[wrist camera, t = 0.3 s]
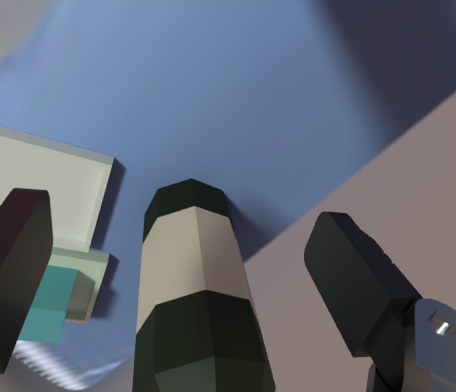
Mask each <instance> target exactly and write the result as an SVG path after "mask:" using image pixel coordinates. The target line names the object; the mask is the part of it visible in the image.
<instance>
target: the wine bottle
mask: <svg viewBox="0 0 456 392" xmlns="http://www.w3.org/2000/svg"><path fill="white" fill-rule="evenodd" d="M275 389H276V387H275V383H274V379H273V375H272V371H271V368H270V364H269V360H268V356H267V352H266V349H265V345H264V341H263V337H262V334H261V330H260V326H259V322H258V318H257V314H256V311H255V307H254V303H253V299H252V296H251V292H250V288H249V284H248V280H247V277H246V273H245V269H244V265H243V261H242V258H241V254H240V250H239V246H238V242H237V239H236V235H235V231H234V227H233V223H232V220H231V216H230V213H229V210H228V207H227V204H226V201H225V198H224V195H223V193H222V190H220V189H218V188H215V187H212V186H210V185H207V184H204V183H202V182H199V181H197V180H194V179H188V180H185V181H182V182H179V183H175V184H172V185H169V186H166V187H163V188H160V189H158V190H157V192H156V194H155V196H154V198H153V200H152V201H151V203H150V205H149V207H148V209H147V211H146V213H145V217H144V232H143V246H142V260H141V274H140V288H139V303H138V317H137V331H136V345H135V361H134V375H133V389H132V392H275Z"/></svg>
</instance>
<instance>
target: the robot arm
mask: <svg viewBox="0 0 456 392" xmlns="http://www.w3.org/2000/svg"><path fill="white" fill-rule="evenodd" d="M52 248H53V228H52V217H51V205H50V196H49V192H48V191H47V190H40V189H26V188H13V189H12V190H11V192H10V193H9V194H8V196H7V197H6V198H5V200H4V201H3V203H2V204H1V205H0V374H3V373H4V372H5V370H6V367H7V365H8V362H9V360H10V357H11V355H12V352H13V350H14V347H15V345H16V342H17V340H18V337H19V335H20V332H21V330H22V327H23V325H24V322H25V320H26V317H27V315H28V312H29V310H30V307H31V305H32V302H33V300H34V297H35V295H36V292H37V290H38V288H39V285H40V283H41V280H42V278H43V275H44V273H45V270H46V268H47V265H48V263H49V260H50V257H51V253H52ZM304 261H305V265H306V268H307V269H308V272H309V273H310V275H311V277H312V279H313V281H314V283H315V285H316V287H317V289H318V291H319V293H320V294H321V296H322V299H323V300H324V302H325V304H326V306H327V308H328V310H329V312H330V314H331V316H332V318H333V320H334V322H335V323H336V326H337V327H338V329H339V331H340V333H341V335H342V337H343V339H344V341H345V343H346V345H347V347H348V349H349V351H350V352H351V354H352V356H353V357H371V358H372V360H373V364H372V365H371V367H370V369H369V372H368V381H367V389H366V392H456V310H454V309H453V308H451V307H449V306H448V305H446V304H444V303H441V302H439V301H436V300H432V299H423V297H422V296H421V295H420V294H419V293H418V292H417V290H416V289H415V288H414V287H413V285H412V284H411V283H410V282H409V281H408V280H407V278H406V277H405V276H404V275H403V274H402V273H401V271H400V270H399V269H398V268H397V267H396V265H395V264H392V261H391V259H390V258H389V257H388V256H387V255H386V254H384V251H383V250H382V249H381V247H380V246H379V245H378V244H377V243H376V241H375V240H374V239H372V238H371V237H369V236H368V235H367V234H366V233H364V232H363V231H362V230H361V229H360V228H359V227H358V226H357V225H356V223H355V222H354V221H353V220H352V218H351V217H350V216H349V215H348V214H346V213H338V212H322V213H321V214H320V215H319V216H318V219H317V221H316V223H315V226H314V228H313V231H312V233H311V235H310V238H309V240H308V243H307V245H306V248H305V252H304Z"/></svg>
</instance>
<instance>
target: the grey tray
mask: <svg viewBox="0 0 456 392" xmlns="http://www.w3.org/2000/svg"><path fill="white" fill-rule="evenodd" d="M113 160H114V157H112V156H108V155H104V154H101V153H97V152H94V151H90V150H86V149H83V148H79V147H75V146H72V145H68V144H65V143H61V142H57V141H54V140H50V139H46V138H43V137H39V136H36V135H32V134H28V133H25V132H21V131H18V130H14V129H10V128H7V127H3V126H0V205H1V204H2V203H3V201H4V200H5V198H6V197H7V196H8V194H9V193H10V192H11V190H12V189H13V188H26V189H40V190H47V191H48V192H49V196H50V205H51V217H52V228H53V247H58V248H64V249H70V250H76V251H81V252H87V253H88V251H89V247H90V244H91V240H92V237H93V233H94V229H95V226H96V222H97V218H98V215H99V211H100V207H101V204H102V200H103V197H104V193H105V189H106V186H107V182H108V178H109V175H110V171H111V168H112V164H113Z"/></svg>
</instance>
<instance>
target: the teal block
mask: <svg viewBox="0 0 456 392" xmlns="http://www.w3.org/2000/svg"><path fill="white" fill-rule="evenodd" d="M77 271H78V269H72V268H66V267H59V266H52V265H47V268H46V270H45V273H44V275H43V278H42V280H41V283H40V285H39V288H38V290H37V292H36V295H35V297H34V300H33V302H32V305H31V307H30V310H29V312H28V315H27V317H26V320H25V322H24V325H23V327H22V330H21V332H20V335H19V337H18V340H23V341H36V342H49V343H58V342H59V338H60V334H61V331H62V327H63V323H64V320H65V316H66V312H67V309H68V305H69V301H70V297H71V294H72V290H73V286H74V282H75V278H76V275H77Z"/></svg>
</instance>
